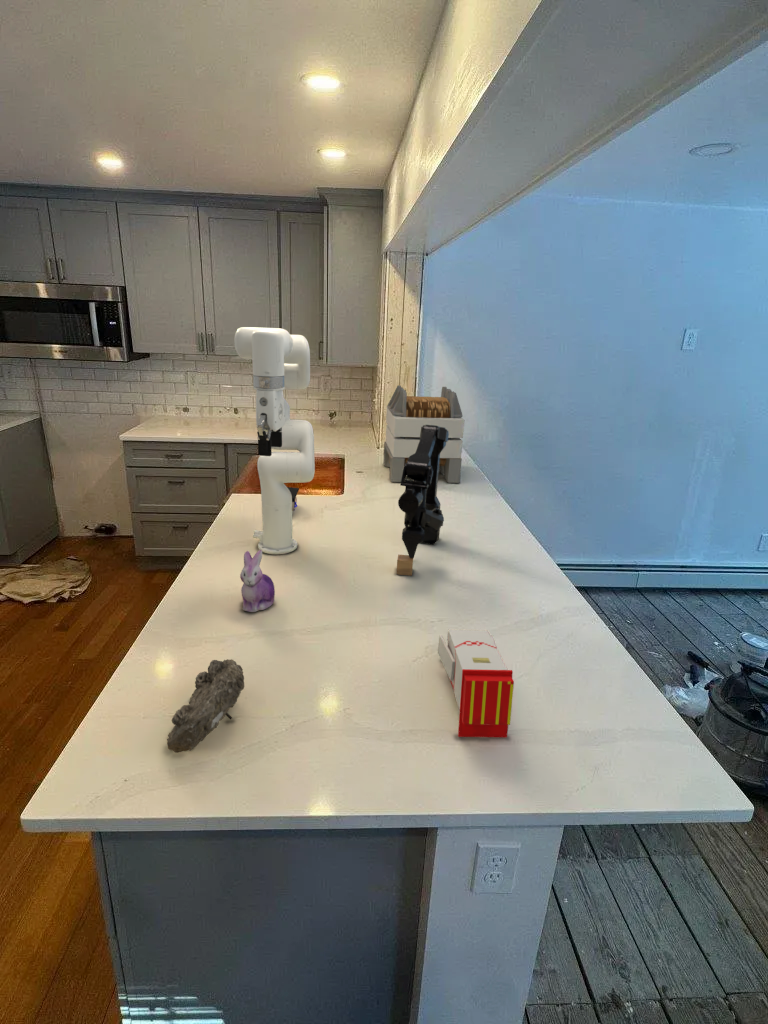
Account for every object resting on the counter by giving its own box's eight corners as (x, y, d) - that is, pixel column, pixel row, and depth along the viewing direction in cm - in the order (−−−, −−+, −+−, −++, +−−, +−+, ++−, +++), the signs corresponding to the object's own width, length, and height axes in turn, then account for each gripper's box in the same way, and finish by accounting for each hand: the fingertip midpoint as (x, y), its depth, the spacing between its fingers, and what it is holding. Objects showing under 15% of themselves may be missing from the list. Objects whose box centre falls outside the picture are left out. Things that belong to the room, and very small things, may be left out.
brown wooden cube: (411, 575, 169) (412, 561, 167) (396, 574, 169) (397, 560, 168) (412, 569, 173) (413, 555, 171) (397, 568, 173) (398, 554, 172)
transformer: (382, 463, 289) (386, 382, 275) (445, 464, 293) (451, 384, 279) (390, 482, 257) (394, 392, 243) (460, 483, 261) (468, 394, 247)
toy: (488, 613, 130) (523, 677, 101) (484, 667, 133) (517, 744, 104) (435, 612, 130) (455, 676, 101) (432, 666, 133) (451, 743, 103)
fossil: (192, 660, 117) (244, 628, 112) (224, 691, 120) (276, 661, 115) (142, 746, 98) (202, 712, 93) (182, 779, 101) (242, 748, 96)
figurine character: (295, 520, 211) (299, 503, 225) (294, 502, 208) (299, 485, 221) (277, 519, 211) (282, 502, 224) (276, 501, 208) (282, 485, 221)
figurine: (245, 617, 142) (242, 562, 137) (235, 598, 151) (232, 547, 146) (281, 609, 147) (280, 556, 142) (270, 592, 155) (268, 541, 150)
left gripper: (274, 388, 130) (275, 460, 136) (292, 379, 147) (293, 444, 152) (242, 386, 131) (245, 458, 137) (264, 378, 147) (266, 442, 153)
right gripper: (443, 515, 155) (439, 567, 160) (442, 495, 173) (438, 542, 178) (403, 512, 156) (400, 564, 161) (406, 492, 174) (403, 539, 179)
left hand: (270, 451), depth 145 cm, fingers open, 9 cm apart
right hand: (412, 552), depth 170 cm, fingers open, 9 cm apart
